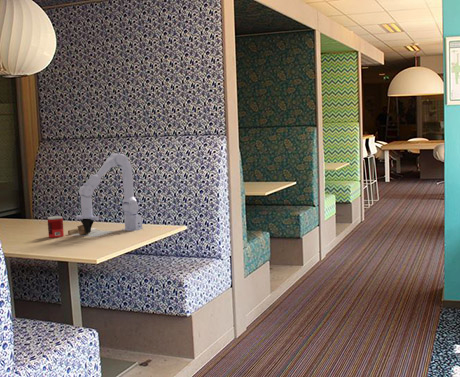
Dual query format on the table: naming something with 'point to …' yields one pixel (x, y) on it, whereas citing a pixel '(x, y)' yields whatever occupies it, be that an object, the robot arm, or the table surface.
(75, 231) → the rail
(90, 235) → the mat
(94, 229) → the tile
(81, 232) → the block
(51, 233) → the canned food
